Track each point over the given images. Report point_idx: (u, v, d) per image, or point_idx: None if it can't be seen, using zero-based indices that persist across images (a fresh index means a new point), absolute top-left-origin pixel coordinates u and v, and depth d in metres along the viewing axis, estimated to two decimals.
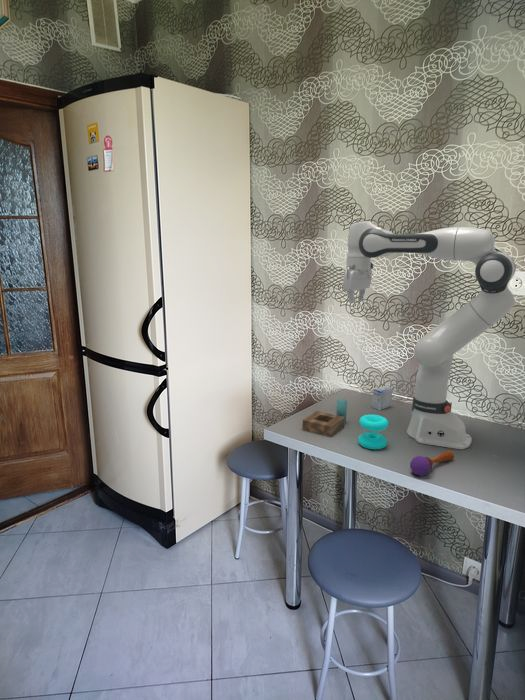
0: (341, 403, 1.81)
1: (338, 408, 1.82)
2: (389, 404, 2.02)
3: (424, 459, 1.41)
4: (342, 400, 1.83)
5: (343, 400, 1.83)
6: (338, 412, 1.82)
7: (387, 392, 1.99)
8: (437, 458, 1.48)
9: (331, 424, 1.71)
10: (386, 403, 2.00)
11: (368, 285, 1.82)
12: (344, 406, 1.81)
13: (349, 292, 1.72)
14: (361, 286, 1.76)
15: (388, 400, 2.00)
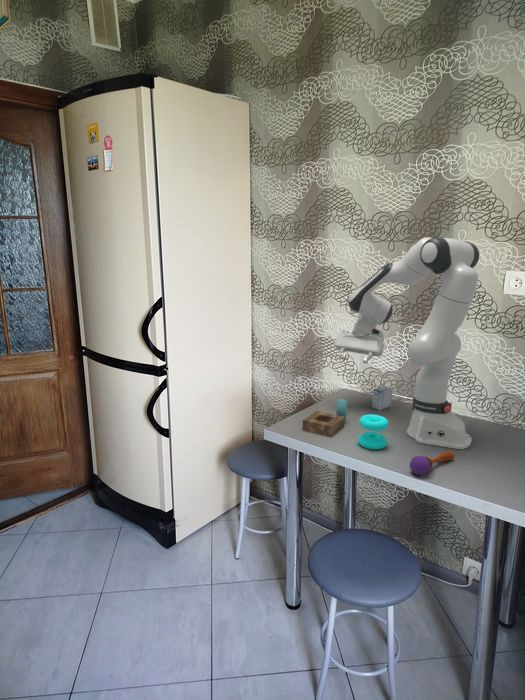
0: (341, 403, 1.81)
1: (338, 408, 1.82)
2: (389, 404, 2.02)
3: (424, 459, 1.41)
4: (342, 400, 1.83)
5: (343, 400, 1.83)
6: (338, 412, 1.82)
7: (387, 392, 1.99)
8: (437, 458, 1.48)
9: (331, 424, 1.71)
10: (386, 403, 2.00)
11: (375, 349, 1.87)
12: (344, 406, 1.81)
13: None
14: (357, 346, 1.90)
15: (388, 400, 2.00)
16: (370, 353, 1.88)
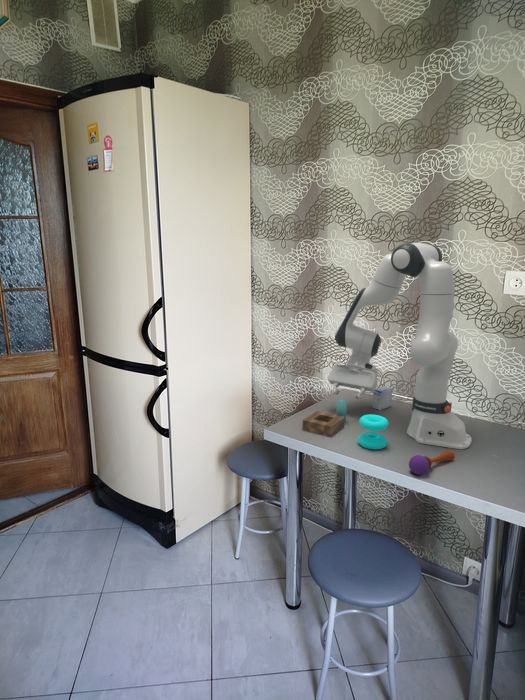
0: (341, 403, 1.81)
1: (338, 408, 1.82)
2: (389, 404, 2.02)
3: (422, 458, 1.41)
4: (342, 400, 1.83)
5: (343, 400, 1.83)
6: (338, 412, 1.82)
7: (387, 392, 1.99)
8: (437, 458, 1.48)
9: (331, 424, 1.71)
10: (386, 403, 2.00)
11: (367, 384, 1.84)
12: (344, 406, 1.81)
13: None
14: (349, 381, 1.88)
15: (388, 401, 2.00)
16: (363, 388, 1.84)
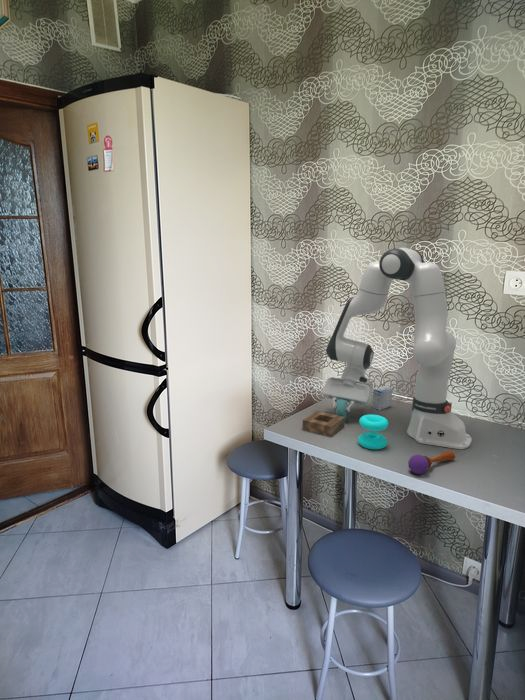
0: (341, 403, 1.81)
1: (338, 408, 1.82)
2: (389, 404, 2.02)
3: (422, 458, 1.42)
4: (342, 400, 1.83)
5: (343, 400, 1.83)
6: (338, 412, 1.82)
7: (387, 392, 1.99)
8: (437, 457, 1.48)
9: (331, 424, 1.71)
10: (386, 403, 2.00)
11: (362, 398, 1.80)
12: (344, 406, 1.81)
13: None
14: (344, 395, 1.84)
15: (388, 400, 2.00)
16: (352, 401, 1.82)
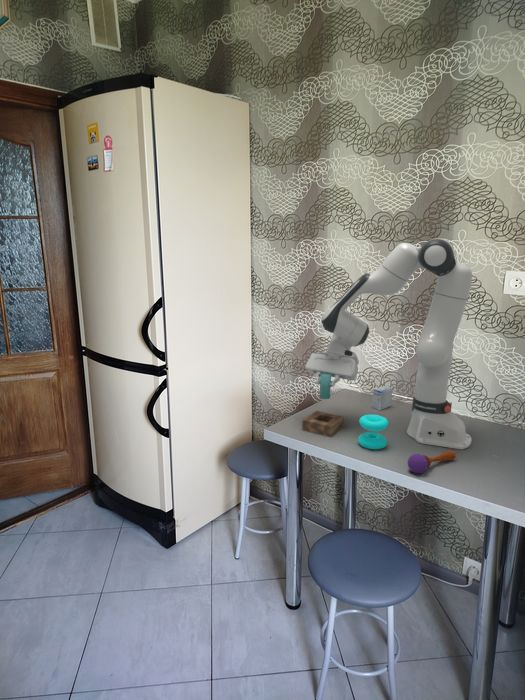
0: (325, 377, 1.72)
1: (322, 382, 1.73)
2: (389, 404, 2.02)
3: (421, 457, 1.42)
4: (326, 374, 1.74)
5: (327, 374, 1.74)
6: (322, 387, 1.73)
7: (387, 392, 1.99)
8: (437, 457, 1.48)
9: (331, 424, 1.71)
10: (386, 403, 2.00)
11: (347, 372, 1.71)
12: (328, 380, 1.72)
13: None
14: (328, 369, 1.75)
15: (388, 400, 2.00)
16: (337, 376, 1.73)
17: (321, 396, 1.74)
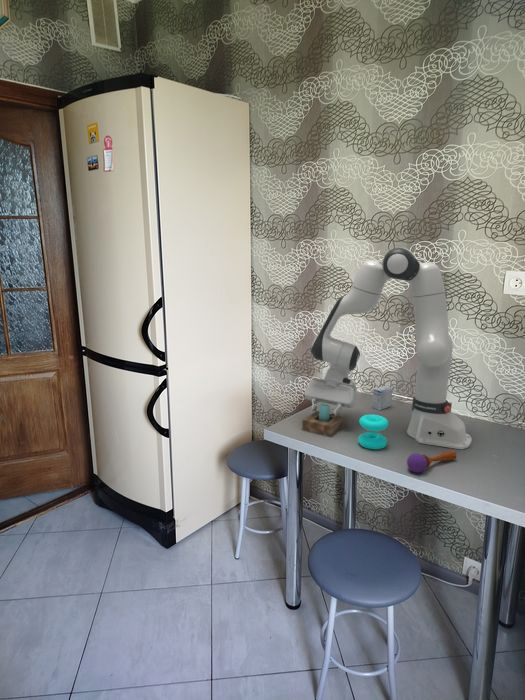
0: (323, 409, 1.74)
1: (320, 414, 1.75)
2: (389, 404, 2.02)
3: (420, 456, 1.43)
4: (325, 406, 1.76)
5: (326, 406, 1.76)
6: (320, 418, 1.76)
7: (387, 392, 1.99)
8: (437, 457, 1.48)
9: (331, 424, 1.71)
10: (386, 403, 2.00)
11: (345, 400, 1.73)
12: (327, 412, 1.75)
13: None
14: (326, 396, 1.77)
15: (388, 400, 2.00)
16: (339, 404, 1.74)
17: None
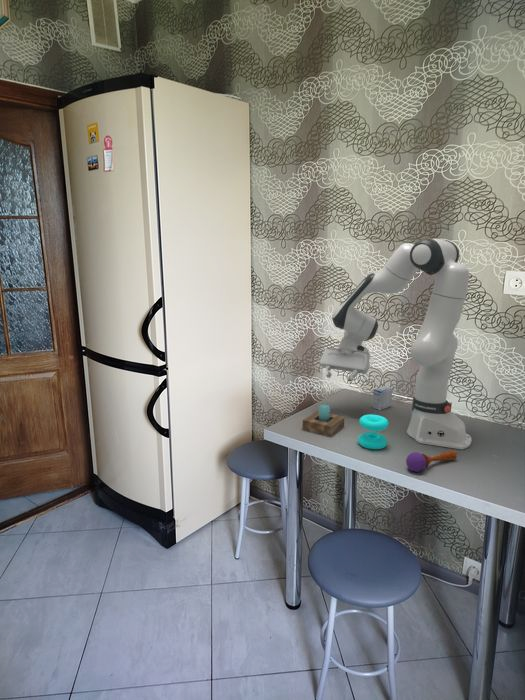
0: (323, 409, 1.74)
1: (320, 414, 1.75)
2: (389, 404, 2.02)
3: (419, 456, 1.43)
4: (325, 406, 1.76)
5: (326, 406, 1.76)
6: (320, 418, 1.76)
7: (387, 392, 1.99)
8: (437, 456, 1.49)
9: (331, 424, 1.71)
10: (386, 403, 2.00)
11: (360, 366, 1.82)
12: (327, 412, 1.75)
13: None
14: (342, 364, 1.86)
15: (388, 400, 2.00)
16: (355, 370, 1.82)
17: None
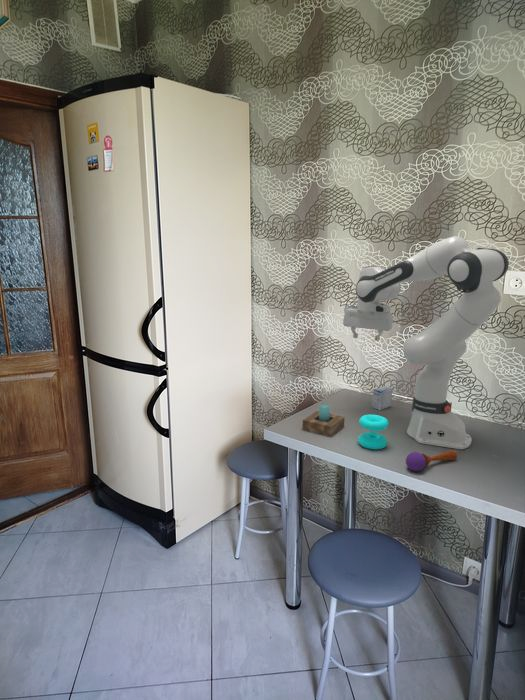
0: (323, 409, 1.74)
1: (320, 414, 1.75)
2: (389, 404, 2.02)
3: (419, 455, 1.43)
4: (325, 406, 1.76)
5: (326, 406, 1.76)
6: (320, 418, 1.76)
7: (387, 392, 1.99)
8: (437, 456, 1.49)
9: (331, 424, 1.71)
10: (386, 403, 2.00)
11: (383, 328, 1.85)
12: (327, 412, 1.75)
13: None
14: (365, 325, 1.89)
15: (388, 400, 2.00)
16: (380, 331, 1.87)
17: None
